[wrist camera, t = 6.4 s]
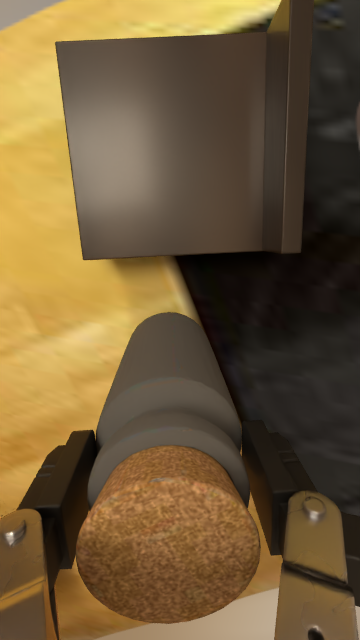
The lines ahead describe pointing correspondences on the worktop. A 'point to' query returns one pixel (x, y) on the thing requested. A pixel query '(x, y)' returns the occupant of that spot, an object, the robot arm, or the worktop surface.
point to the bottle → (168, 483)
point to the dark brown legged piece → (190, 139)
